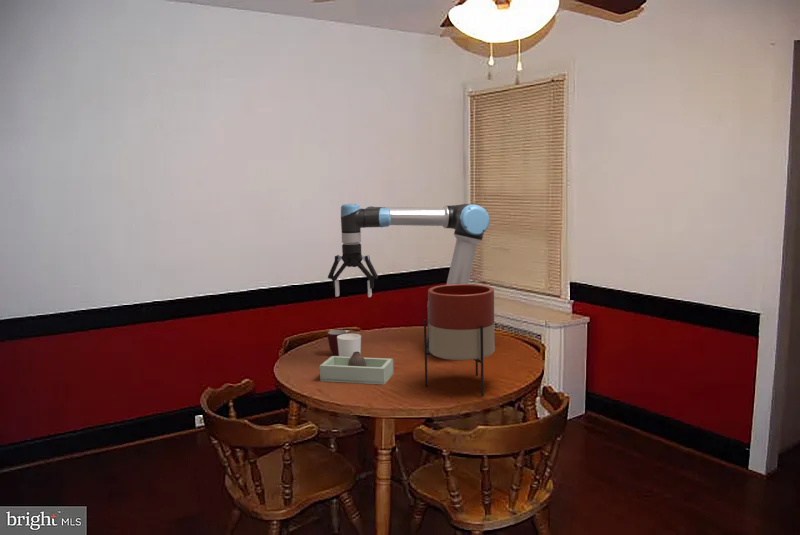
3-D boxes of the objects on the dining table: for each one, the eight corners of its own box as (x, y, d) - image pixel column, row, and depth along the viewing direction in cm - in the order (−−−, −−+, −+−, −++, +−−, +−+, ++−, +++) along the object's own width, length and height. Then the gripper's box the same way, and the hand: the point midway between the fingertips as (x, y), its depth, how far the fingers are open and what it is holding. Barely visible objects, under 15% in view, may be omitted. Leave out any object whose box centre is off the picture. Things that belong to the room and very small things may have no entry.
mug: (353, 351, 277) (352, 329, 276) (352, 356, 269) (351, 334, 268) (329, 352, 277) (328, 330, 276) (327, 357, 270) (326, 334, 268)
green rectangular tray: (393, 373, 245) (392, 358, 244) (384, 384, 232) (383, 368, 231) (332, 370, 251) (331, 356, 250) (320, 381, 238) (319, 365, 237)
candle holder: (365, 362, 261) (364, 334, 259) (356, 369, 252) (355, 340, 250) (344, 360, 264) (343, 332, 262) (334, 367, 255) (332, 338, 253)
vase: (348, 372, 245) (347, 350, 243) (366, 371, 245) (365, 349, 244) (348, 377, 238) (347, 355, 237) (366, 377, 238) (365, 354, 237)
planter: (425, 376, 241) (422, 284, 236) (491, 374, 240) (490, 283, 235) (425, 397, 217) (423, 296, 212) (498, 396, 217) (498, 294, 212)
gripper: (384, 242, 250) (386, 295, 253) (325, 242, 256) (327, 294, 259) (379, 244, 242) (381, 298, 245) (318, 244, 249) (320, 297, 251)
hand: (353, 296), depth 252 cm, fingers open, 13 cm apart
